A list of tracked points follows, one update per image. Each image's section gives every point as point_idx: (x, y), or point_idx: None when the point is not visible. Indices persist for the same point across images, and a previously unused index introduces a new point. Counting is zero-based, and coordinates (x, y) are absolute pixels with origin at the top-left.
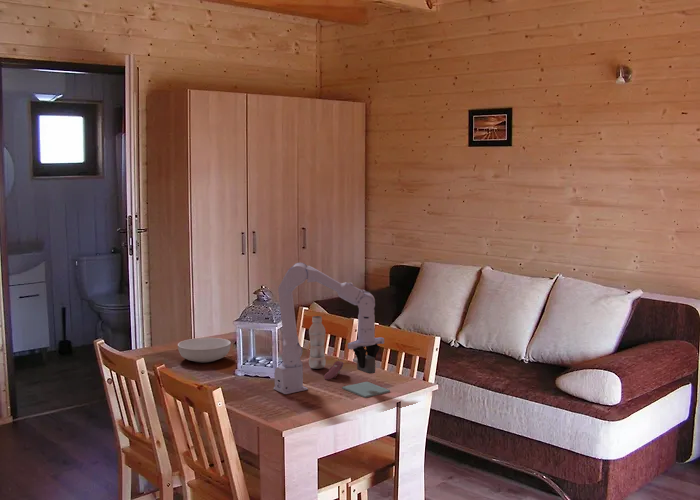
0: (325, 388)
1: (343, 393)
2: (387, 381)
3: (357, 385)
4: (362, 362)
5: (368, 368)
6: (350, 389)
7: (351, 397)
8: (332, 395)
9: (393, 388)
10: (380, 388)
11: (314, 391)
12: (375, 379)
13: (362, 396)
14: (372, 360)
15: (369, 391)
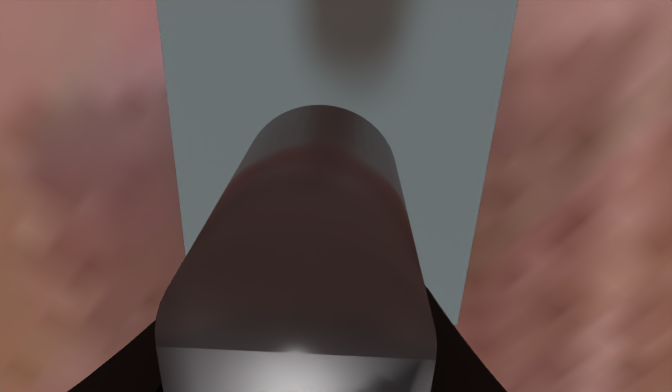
0: (542, 382)
1: (547, 220)
2: (12, 239)
3: None
4: (475, 356)
5: (400, 189)
6: (459, 237)
7: (595, 85)
8: (657, 234)
9: (62, 44)
10: (207, 87)
11: (657, 378)
12: (81, 329)
13: (507, 27)
14: (342, 215)
15: (367, 79)
